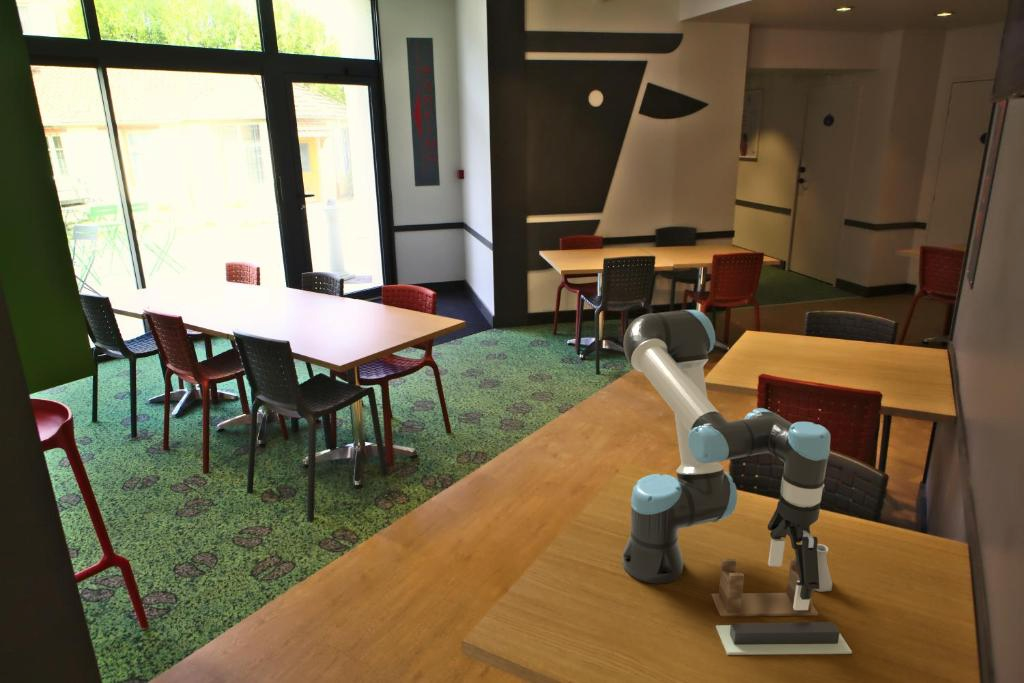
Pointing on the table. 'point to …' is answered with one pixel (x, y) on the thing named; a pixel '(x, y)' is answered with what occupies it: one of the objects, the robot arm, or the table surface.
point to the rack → (756, 595)
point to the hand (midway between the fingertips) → (786, 586)
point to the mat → (779, 646)
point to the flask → (823, 569)
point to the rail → (784, 633)
